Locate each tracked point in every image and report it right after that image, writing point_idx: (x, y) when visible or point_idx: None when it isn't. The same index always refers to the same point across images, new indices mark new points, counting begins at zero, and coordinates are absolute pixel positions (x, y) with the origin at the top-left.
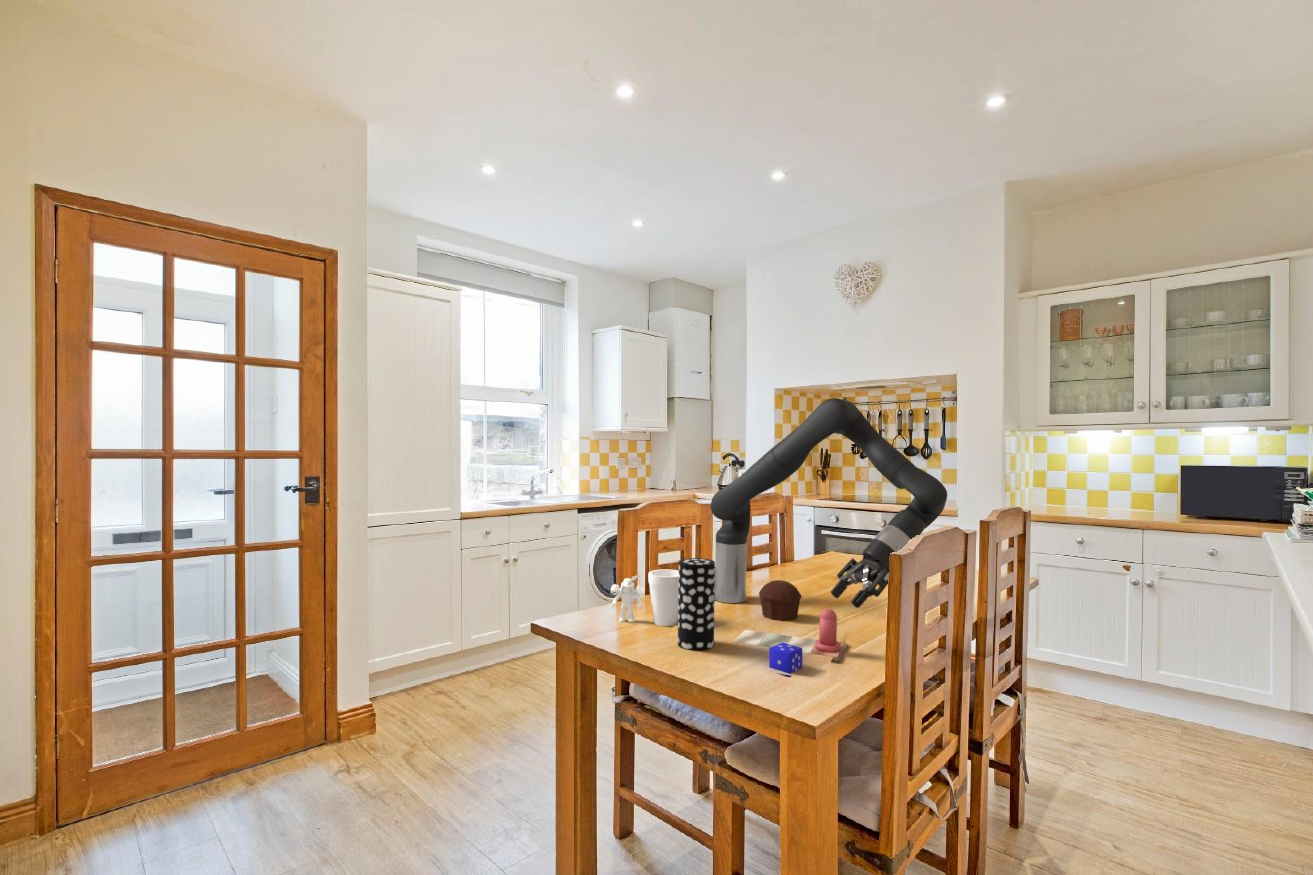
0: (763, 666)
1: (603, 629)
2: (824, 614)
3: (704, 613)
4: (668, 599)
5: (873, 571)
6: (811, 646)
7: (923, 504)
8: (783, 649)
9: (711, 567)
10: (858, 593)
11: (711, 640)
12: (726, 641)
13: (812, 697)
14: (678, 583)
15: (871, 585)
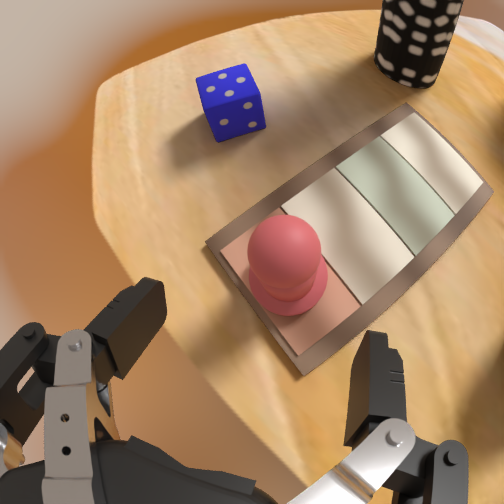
0: (277, 98)
1: (488, 44)
2: (275, 216)
3: (383, 1)
4: None
5: (26, 480)
6: (323, 246)
7: None
8: (220, 77)
9: None
10: (116, 315)
11: (385, 56)
12: (434, 120)
13: (134, 108)
14: None
15: (25, 345)
